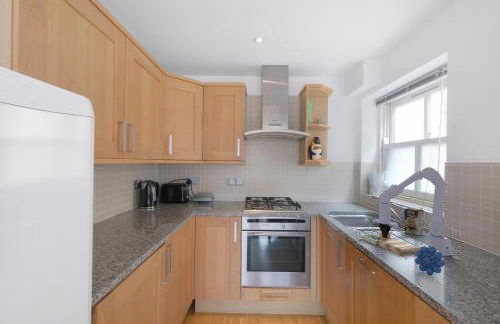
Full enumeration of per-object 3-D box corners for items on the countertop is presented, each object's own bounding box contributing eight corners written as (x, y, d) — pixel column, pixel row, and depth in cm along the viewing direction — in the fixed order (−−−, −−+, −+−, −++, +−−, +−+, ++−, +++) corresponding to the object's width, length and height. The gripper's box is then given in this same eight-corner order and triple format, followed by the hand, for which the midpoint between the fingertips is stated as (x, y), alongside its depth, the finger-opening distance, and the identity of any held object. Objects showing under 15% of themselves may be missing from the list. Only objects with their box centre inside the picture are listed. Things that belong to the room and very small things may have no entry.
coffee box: (404, 232, 168) (403, 208, 169) (410, 231, 171) (409, 207, 171) (418, 235, 160) (417, 210, 160) (424, 234, 163) (423, 209, 163)
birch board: (420, 253, 127) (420, 247, 127) (401, 255, 124) (401, 249, 124) (395, 243, 142) (395, 238, 142) (377, 245, 139) (377, 240, 139)
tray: (395, 243, 143) (395, 239, 143) (375, 245, 140) (375, 240, 140) (379, 237, 155) (378, 233, 156) (360, 238, 152) (360, 234, 152)
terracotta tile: (390, 233, 145) (387, 232, 148) (383, 233, 144) (379, 232, 147) (390, 241, 145) (387, 240, 148) (383, 242, 144) (379, 240, 147)
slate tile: (379, 234, 152) (379, 238, 152) (371, 234, 152) (371, 238, 152) (384, 236, 147) (384, 240, 147) (377, 236, 147) (377, 241, 147)
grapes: (451, 279, 98) (451, 248, 98) (440, 281, 95) (440, 250, 95) (422, 267, 108) (422, 240, 109) (411, 270, 106) (411, 241, 106)
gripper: (401, 215, 137) (402, 240, 137) (378, 211, 151) (378, 233, 150) (393, 216, 134) (393, 241, 134) (370, 212, 148) (370, 234, 147)
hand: (385, 237), depth 142 cm, fingers closed
